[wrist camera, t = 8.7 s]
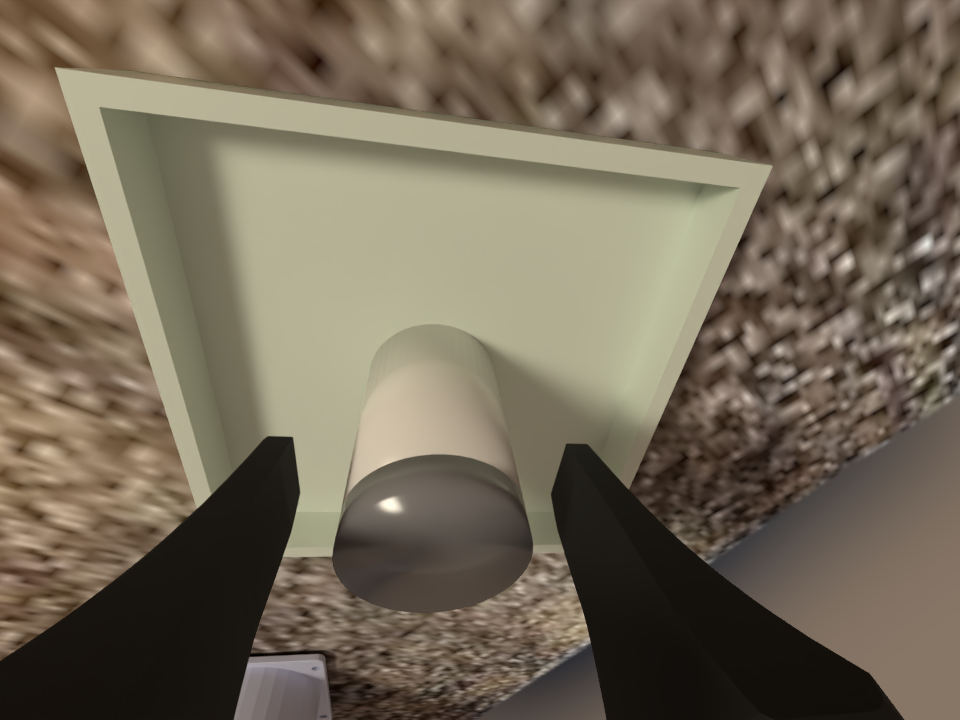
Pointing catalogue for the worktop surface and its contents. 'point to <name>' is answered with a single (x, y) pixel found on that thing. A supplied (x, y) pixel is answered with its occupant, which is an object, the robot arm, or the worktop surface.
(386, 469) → the cylinder
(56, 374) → the worktop surface
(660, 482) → the worktop surface
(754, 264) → the worktop surface
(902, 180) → the worktop surface
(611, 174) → the tray
